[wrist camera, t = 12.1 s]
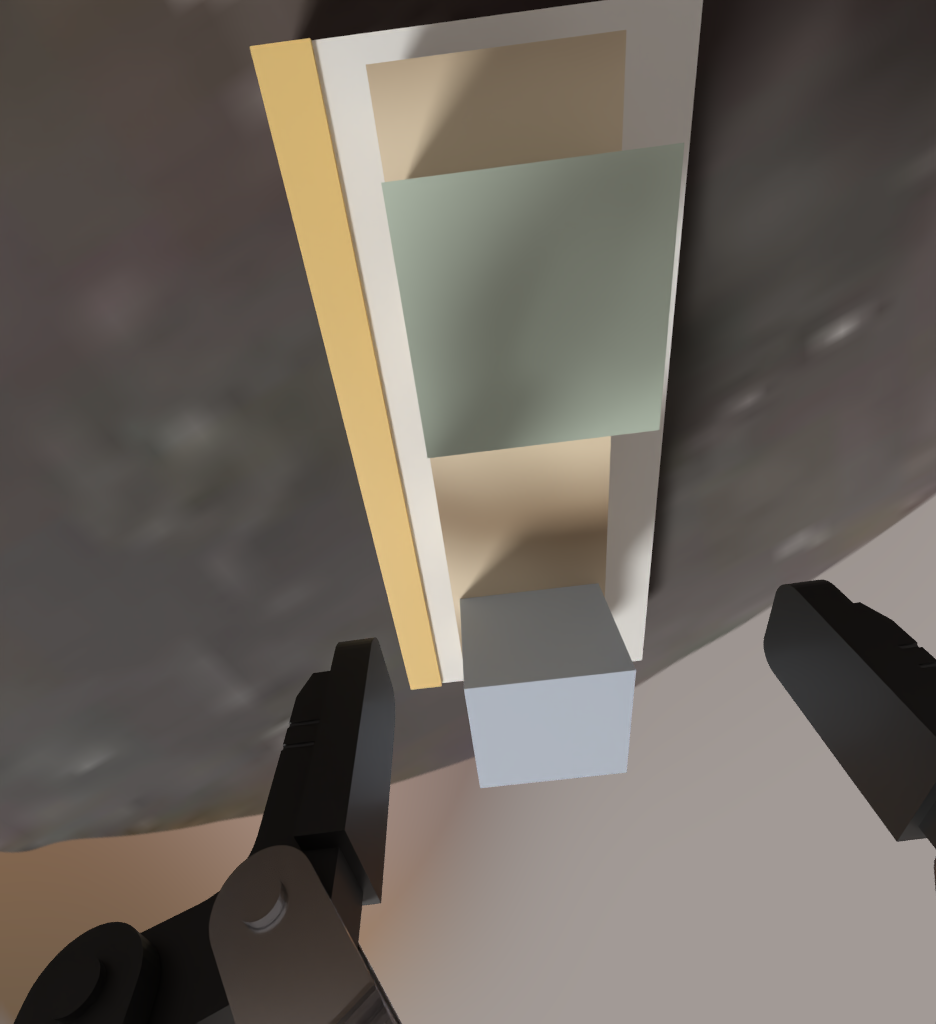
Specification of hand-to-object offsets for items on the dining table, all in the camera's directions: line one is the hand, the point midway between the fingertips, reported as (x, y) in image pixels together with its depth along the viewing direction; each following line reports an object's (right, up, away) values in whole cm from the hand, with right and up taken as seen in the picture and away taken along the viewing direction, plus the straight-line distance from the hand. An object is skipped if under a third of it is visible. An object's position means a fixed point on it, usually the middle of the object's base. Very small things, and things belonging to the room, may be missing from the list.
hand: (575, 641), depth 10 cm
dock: (-1, +7, +12) cm, 14 cm away
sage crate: (-1, +8, +3) cm, 9 cm away
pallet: (-1, +5, +9) cm, 11 cm away
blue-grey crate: (0, -2, +9) cm, 9 cm away
